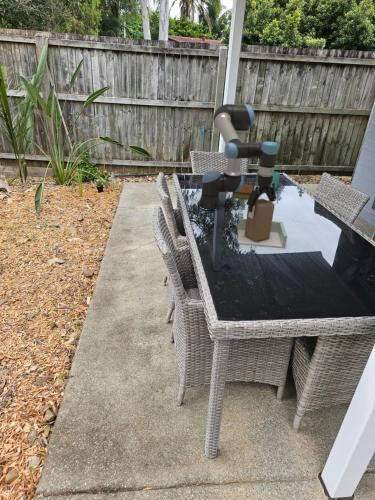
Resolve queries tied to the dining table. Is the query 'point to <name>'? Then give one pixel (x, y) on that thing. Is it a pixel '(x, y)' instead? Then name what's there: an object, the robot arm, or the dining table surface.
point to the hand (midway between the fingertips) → (259, 215)
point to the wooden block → (260, 220)
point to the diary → (244, 192)
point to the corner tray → (275, 239)
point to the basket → (275, 179)
